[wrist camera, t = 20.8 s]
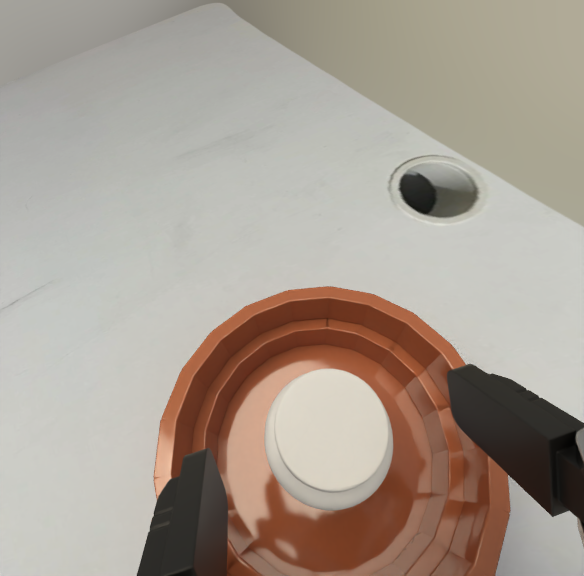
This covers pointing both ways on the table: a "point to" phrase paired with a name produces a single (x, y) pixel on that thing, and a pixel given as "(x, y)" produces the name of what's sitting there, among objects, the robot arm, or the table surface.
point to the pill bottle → (328, 439)
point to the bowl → (405, 428)
